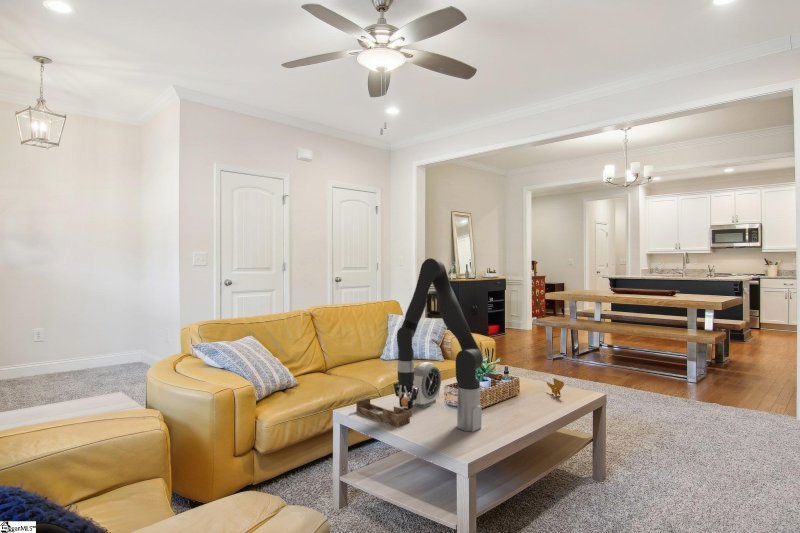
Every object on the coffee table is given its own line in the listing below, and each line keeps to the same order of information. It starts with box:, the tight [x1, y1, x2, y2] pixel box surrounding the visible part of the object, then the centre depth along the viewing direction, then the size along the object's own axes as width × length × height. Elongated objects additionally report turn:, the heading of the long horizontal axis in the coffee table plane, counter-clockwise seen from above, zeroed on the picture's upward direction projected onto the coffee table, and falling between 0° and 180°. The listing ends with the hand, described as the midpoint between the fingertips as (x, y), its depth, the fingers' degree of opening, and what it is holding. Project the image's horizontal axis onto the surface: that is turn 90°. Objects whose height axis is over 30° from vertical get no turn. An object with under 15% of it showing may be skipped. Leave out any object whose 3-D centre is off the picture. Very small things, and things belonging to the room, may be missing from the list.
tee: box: [402, 407, 413, 417], centre depth 202 cm, size 4×4×3 cm
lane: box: [355, 397, 411, 428], centre depth 199 cm, size 27×7×5 cm, turn 45°
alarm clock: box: [412, 361, 442, 409], centre depth 218 cm, size 18×8×20 cm, turn 143°
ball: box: [401, 396, 408, 408], centre depth 201 cm, size 4×4×4 cm
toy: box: [545, 377, 565, 397], centre depth 235 cm, size 3×16×10 cm, turn 14°
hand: (405, 407), depth 201 cm, fingers closed on ball, 4 cm apart
